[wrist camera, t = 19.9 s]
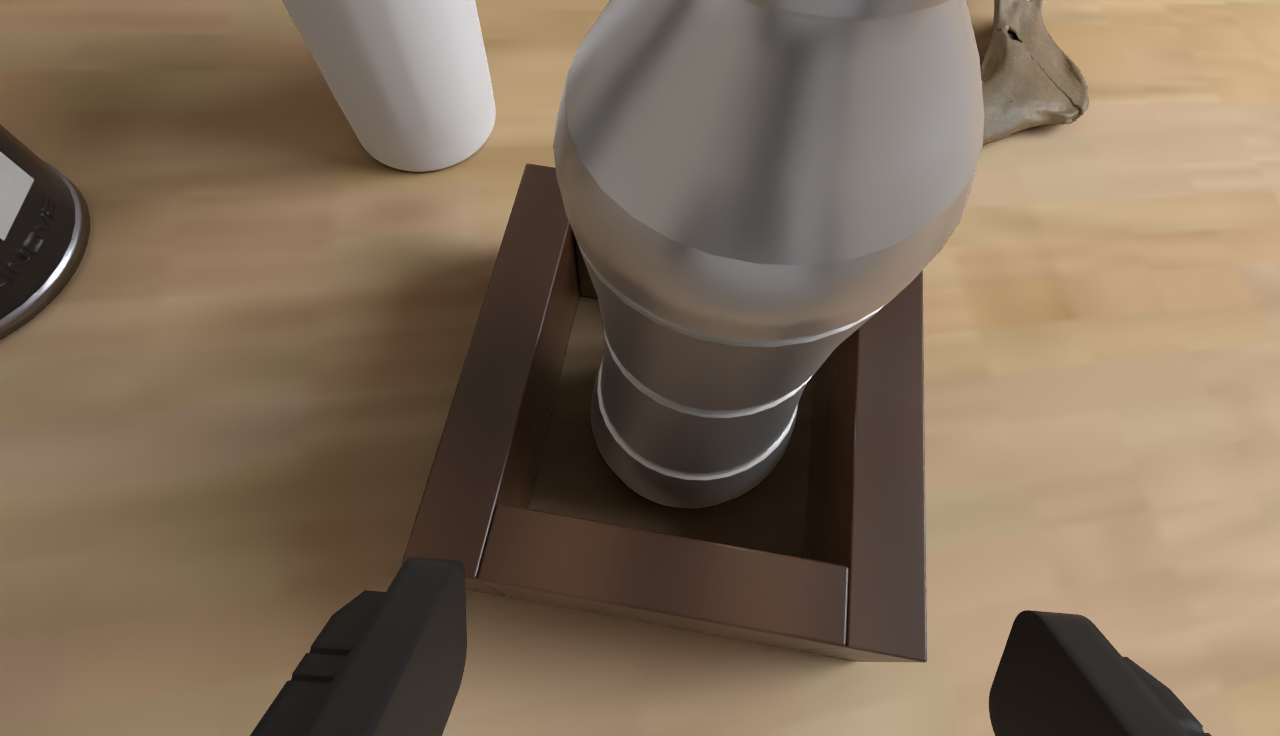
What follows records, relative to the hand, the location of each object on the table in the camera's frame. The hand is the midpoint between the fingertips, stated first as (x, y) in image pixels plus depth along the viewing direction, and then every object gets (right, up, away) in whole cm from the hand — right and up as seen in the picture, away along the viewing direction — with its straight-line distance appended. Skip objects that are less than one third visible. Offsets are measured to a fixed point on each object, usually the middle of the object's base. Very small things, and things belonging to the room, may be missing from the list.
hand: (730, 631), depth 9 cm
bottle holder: (0, +2, +14) cm, 14 cm away
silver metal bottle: (0, +1, +14) cm, 14 cm away
